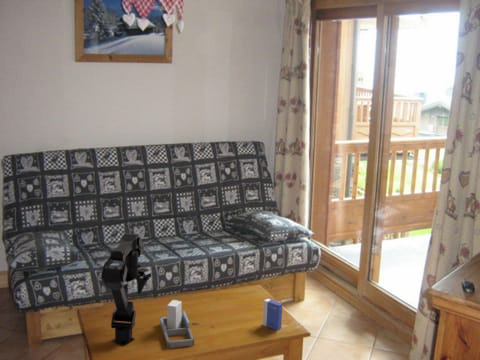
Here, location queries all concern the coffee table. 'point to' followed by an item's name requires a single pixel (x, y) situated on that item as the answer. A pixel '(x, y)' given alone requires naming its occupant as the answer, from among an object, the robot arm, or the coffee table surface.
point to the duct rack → (177, 333)
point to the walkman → (272, 314)
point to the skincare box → (174, 314)
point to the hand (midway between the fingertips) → (131, 297)
